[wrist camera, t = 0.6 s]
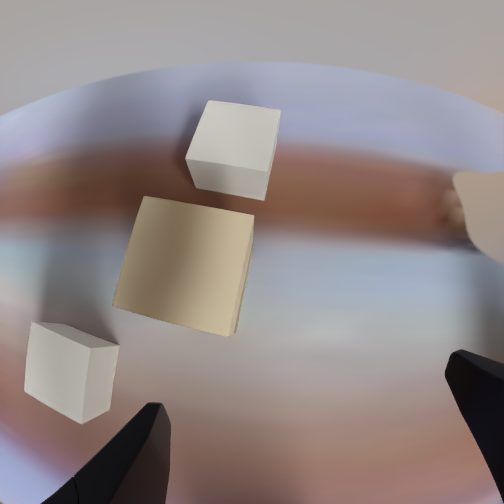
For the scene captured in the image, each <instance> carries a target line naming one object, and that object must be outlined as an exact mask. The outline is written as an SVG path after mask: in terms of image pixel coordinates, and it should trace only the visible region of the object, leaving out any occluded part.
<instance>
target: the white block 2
mask: <svg viewBox="0 0 504 504" xmlns="http://www.w3.org/2000/svg"><path fill="white" fill-rule="evenodd" d="M280 115H281V110H275V109H270V108H264V107H258V106H251V105H244V104H237V103H229V102H220V101H211V100H208V102H207V105H206V107H205V109H204V112H203V114H202V117H201V119H200V121H199V124H198V126H197V129H196V131H195V134H194V137H193V139H192V142H191V144H190V147H189V150H188V152H187V155H186V158H185V160H186V162H187V165H188V168H189V171H190V173H191V176H192V179H193V182H194V184H195V187H196V188H198V189H204V190H209V191H215V192H221V193H226V194H232V195H237V196H242V197H248V198H253V199H258V200H263V201H264V199H265V195H266V190H267V185H268V181H269V176H270V171H271V167H272V162H273V157H274V153H275V148H276V143H277V136H278V129H279V122H280Z"/></svg>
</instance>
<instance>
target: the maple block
mask: <svg viewBox="0 0 504 504" xmlns="http://www.w3.org/2000/svg"><path fill="white" fill-rule="evenodd" d="M253 228H254V215H249V214H244V213H239V212H234V211H228V210H223V209H218V208H212V207H207V206H201V205H195V204H190V203H184V202H178V201H172V200H166V199H160V198H154V197H148V196H144V197H143V200H142V203H141V206H140V209H139V212H138V215H137V218H136V221H135V224H134V227H133V230H132V234H131V237H130V240H129V243H128V247H127V250H126V254H125V257H124V261H123V265H122V268H121V272H120V276H119V280H118V284H117V288H116V292H115V296H114V300H113V304H112V306H114V307H117V308H120V309H124V310H127V311H130V312H133V313H137V314H140V315H144V316H147V317H151V318H154V319H158V320H161V321H165V322H169V323H172V324H176V325H180V326H184V327H188V328H192V329H196V330H200V331H204V332H208V333H212V334H217V335H221V336H226V337H229V336H230V335H232V334H234V333H236V330H237V325H238V321H239V316H240V311H241V306H242V302H243V297H244V292H245V288H246V283H247V278H248V274H249V269H250V264H251V259H252V247H253Z"/></svg>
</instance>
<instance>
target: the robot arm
mask: <svg viewBox="0 0 504 504" xmlns="http://www.w3.org/2000/svg"><path fill="white" fill-rule="evenodd" d="M445 378H446V380H447V383H448V385H449V387H450V389H451V391H452V394H453V396H454V398H455V401H456V403H457V405H458V407H459V410H460V412H461V414H462V416H463V418H464V419H465V421H466V423H467V425H468V427H469V429H470V431H471V433H472V434H473V436H474V438H475V440H476V442H477V444H478V446H479V448H480V450H481V452H482V454H483V456H484V459H485V461H486V463H487V465H488V467H489V469H490V471H491V474H492V476H493V478H494V480H495V483H496V485H497V488H498V490H499V492H500V495H501V498H502V500H503V503H504V364H502V363H499V362H496V361H494V360H491V359H488V358H485V357H482V356H480V355H477V354H474V353H471V352H468V351H466V350H463V349H461V350H458V351H455V352H453V353H452V354H451V355H450V358H449V361H448V364H447V367H446V370H445ZM170 438H171V424H170V420H169V417H168V415H167V413H166V410H165V408H164V405H163V404H162V403H158V402H149V403H147V404H146V405H145V406H144V407H143V408H142V409H141V410H140V411H139V412H138V413H137V414H136V415H135V416H134V417H133V418H132V419H131V420H130V421H129V422H128V423H127V424H126V425H125V426H124V427H123V428H122V429H121V430H120V431H119V432H118V433H117V434H116V435H115V436H114V437H113V438H112V439H111V440H110V441H109V442H108V443H107V444H106V445H105V446H104V447H103V448H102V449H101V450H100V451H99V452H98V453H97V454H96V455H95V456H94V457H93V458H92V459H91V460H90V461H89V462H88V463H86V464H85V465H84V466H83V467H82V468H81V469H80V470H79V471H78V472H77V473H76V474H75V475H74V477H72V478H71V479H70V480H69V481H67V482H66V483H65V484H64V485H63V486H62V487H61V488H60V489H59V490H57V491H56V492H55V493H54V494H53V495H51V496H50V497H49V498H47V499H46V500H45V501H43V502H42V503H41V504H165V501H166V494H167V487H168V480H169V472H170Z"/></svg>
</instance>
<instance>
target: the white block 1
mask: <svg viewBox="0 0 504 504" xmlns="http://www.w3.org/2000/svg"><path fill="white" fill-rule="evenodd" d="M119 346H120V345H117V344H114V343H111V342H109V341H106V340H103V339H101V338H98V337H95V336H93V335H90V334H88V333H85V332H83V331H80V330H78V329H76V328H73V327H71V326H68V325H66V324H58V323H46V322H35V321H32V323H31V329H30V336H29V343H28V352H27V361H26V373H25V389H24V391H25V392H27V393H28V394H30V395H31V396H33V397H34V398H36V399H37V400H39V401H41V402H42V403H44V404H46V405H47V406H49V407H51V408H52V409H54V410H56V411H58V412H59V413H61V414H63V415H65V416H67V417H69V418H71V419H72V420H74V421H76V422H78V423H80V424H83V423H85V422H87V421H89V420H91V419H93V418H95V417H97V416H99V415H100V414H102V413H104V412H106V411H108V410H110V403H111V396H112V389H113V382H114V375H115V369H116V363H117V357H118V352H119Z"/></svg>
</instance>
